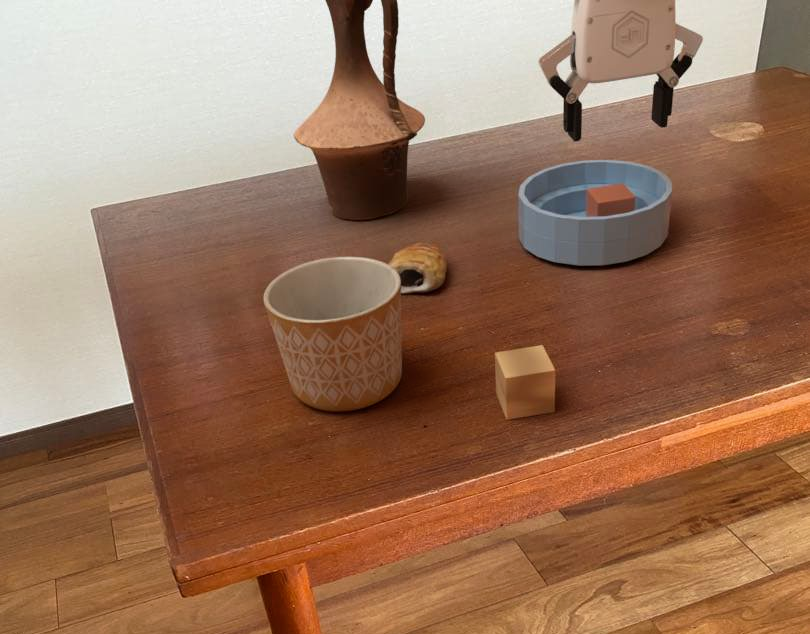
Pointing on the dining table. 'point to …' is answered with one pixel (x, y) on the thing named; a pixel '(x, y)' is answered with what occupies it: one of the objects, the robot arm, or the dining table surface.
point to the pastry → (420, 268)
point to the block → (525, 382)
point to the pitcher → (362, 121)
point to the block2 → (609, 201)
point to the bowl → (593, 236)
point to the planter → (338, 330)
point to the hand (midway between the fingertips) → (616, 130)
